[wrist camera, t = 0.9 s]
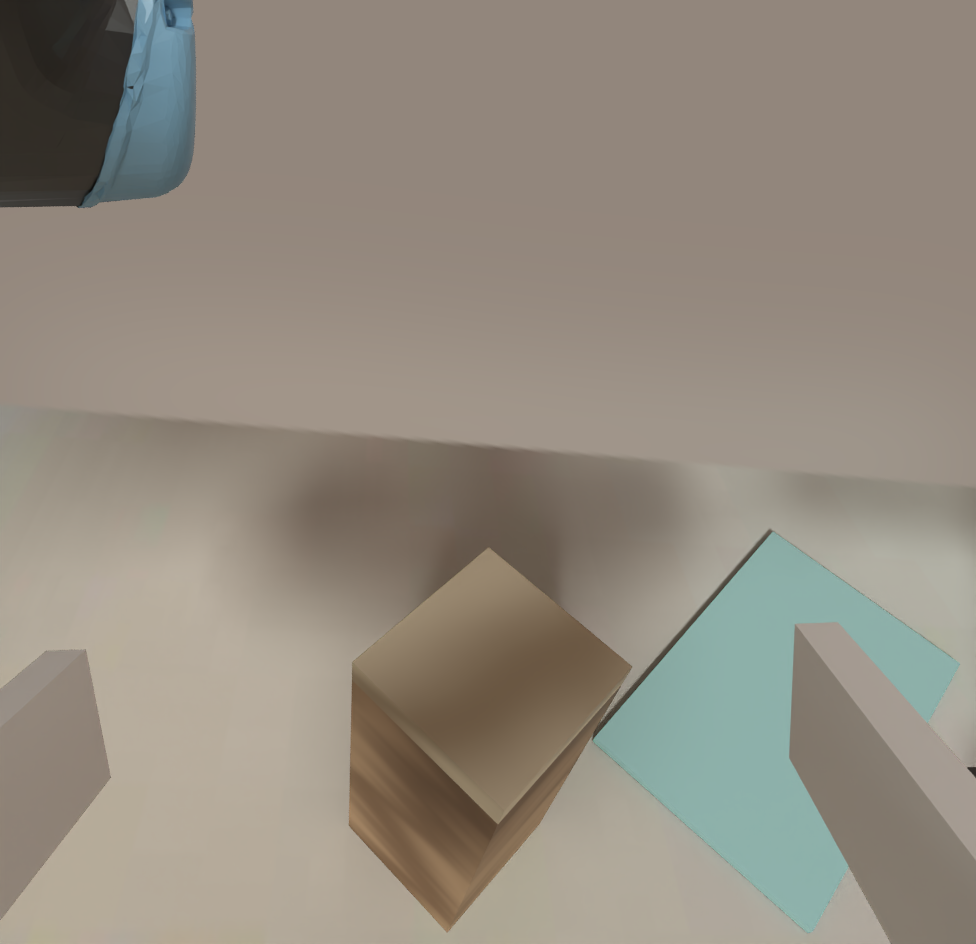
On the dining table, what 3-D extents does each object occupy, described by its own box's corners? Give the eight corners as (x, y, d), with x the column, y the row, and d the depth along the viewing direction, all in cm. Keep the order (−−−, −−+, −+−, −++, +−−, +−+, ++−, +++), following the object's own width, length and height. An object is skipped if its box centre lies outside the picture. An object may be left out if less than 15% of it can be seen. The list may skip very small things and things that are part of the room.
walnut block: (348, 826, 30) (352, 661, 20) (444, 732, 33) (488, 547, 23) (447, 932, 28) (504, 810, 18) (539, 824, 31) (632, 666, 21)
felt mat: (592, 740, 33) (594, 737, 33) (769, 535, 41) (773, 531, 41) (808, 933, 30) (812, 931, 29) (955, 667, 38) (960, 663, 38)
